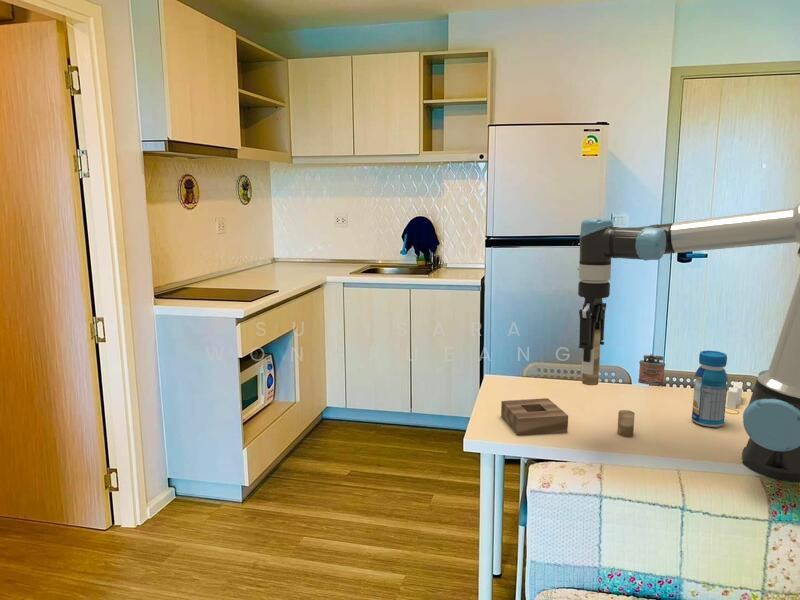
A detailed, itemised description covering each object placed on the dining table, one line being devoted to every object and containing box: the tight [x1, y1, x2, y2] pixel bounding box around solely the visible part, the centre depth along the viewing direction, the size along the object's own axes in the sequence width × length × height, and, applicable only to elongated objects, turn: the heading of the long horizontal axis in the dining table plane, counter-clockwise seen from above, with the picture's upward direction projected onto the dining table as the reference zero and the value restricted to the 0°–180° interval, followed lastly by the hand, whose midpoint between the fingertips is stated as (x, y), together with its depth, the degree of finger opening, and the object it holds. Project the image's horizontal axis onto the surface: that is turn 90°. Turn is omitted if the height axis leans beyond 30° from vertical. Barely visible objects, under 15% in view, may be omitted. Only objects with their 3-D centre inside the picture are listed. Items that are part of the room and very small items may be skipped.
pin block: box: [500, 397, 569, 437], centre depth 164 cm, size 14×14×5 cm
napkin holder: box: [726, 381, 743, 410], centre depth 182 cm, size 15×11×6 cm
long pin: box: [581, 329, 601, 386], centre depth 151 cm, size 4×4×14 cm
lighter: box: [637, 353, 666, 387], centre depth 200 cm, size 8×3×10 cm, turn 62°
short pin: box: [616, 409, 635, 438], centre depth 158 cm, size 4×4×6 cm
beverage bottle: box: [691, 350, 729, 428], centre depth 164 cm, size 8×8×20 cm
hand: (590, 371), depth 151 cm, fingers closed on long pin, 4 cm apart
